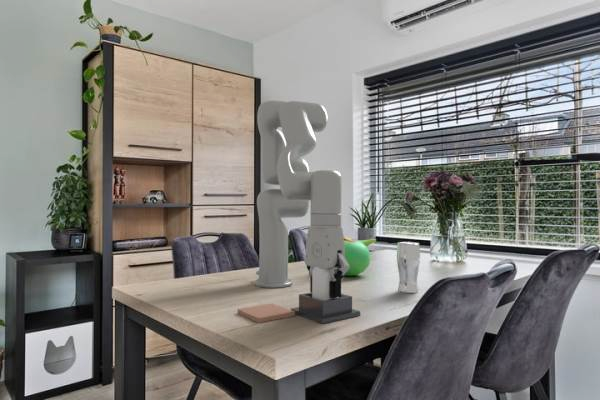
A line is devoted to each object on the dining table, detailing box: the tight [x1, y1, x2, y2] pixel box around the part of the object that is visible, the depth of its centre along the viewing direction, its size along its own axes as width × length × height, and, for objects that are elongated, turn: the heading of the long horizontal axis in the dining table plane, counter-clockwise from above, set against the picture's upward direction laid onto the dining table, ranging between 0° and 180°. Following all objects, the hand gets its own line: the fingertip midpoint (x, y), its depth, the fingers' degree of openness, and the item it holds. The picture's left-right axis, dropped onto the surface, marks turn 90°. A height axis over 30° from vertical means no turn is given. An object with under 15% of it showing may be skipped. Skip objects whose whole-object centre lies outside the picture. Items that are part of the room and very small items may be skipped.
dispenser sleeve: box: [290, 292, 361, 324], centre depth 101 cm, size 12×12×4 cm
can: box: [312, 267, 339, 301], centre depth 101 cm, size 6×6×12 cm
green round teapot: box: [343, 236, 377, 277], centre depth 156 cm, size 18×17×15 cm
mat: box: [237, 302, 296, 324], centre depth 100 cm, size 10×10×1 cm
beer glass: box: [396, 241, 421, 294], centre depth 128 cm, size 7×7×15 cm
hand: (325, 293), depth 101 cm, fingers closed on can, 6 cm apart
